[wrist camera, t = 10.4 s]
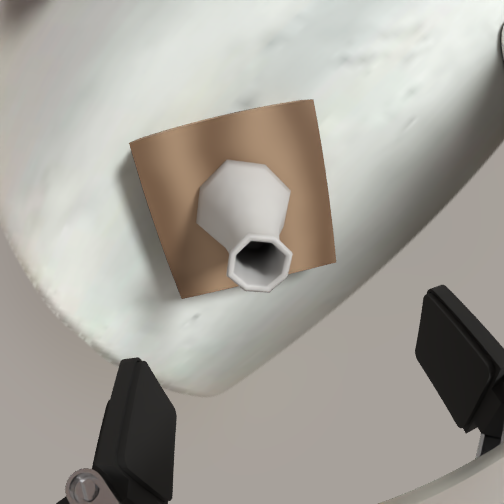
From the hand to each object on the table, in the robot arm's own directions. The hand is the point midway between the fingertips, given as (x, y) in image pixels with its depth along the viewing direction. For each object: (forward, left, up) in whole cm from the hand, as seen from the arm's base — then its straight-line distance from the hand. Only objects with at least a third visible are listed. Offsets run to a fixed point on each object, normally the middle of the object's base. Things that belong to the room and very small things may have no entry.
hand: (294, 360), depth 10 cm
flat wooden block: (0, 0, -21) cm, 21 cm away
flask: (0, 0, -17) cm, 17 cm away
